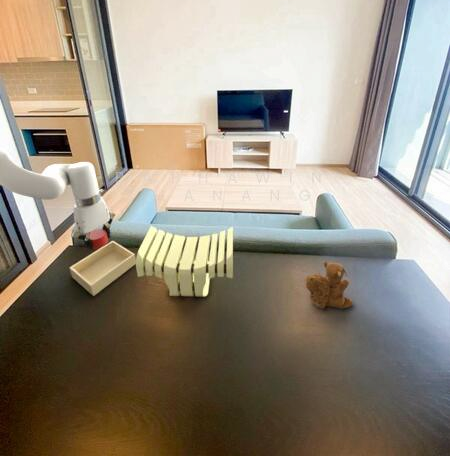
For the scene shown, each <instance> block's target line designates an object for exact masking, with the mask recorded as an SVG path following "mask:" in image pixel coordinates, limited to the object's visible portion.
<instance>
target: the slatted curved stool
mask: <svg viewBox="0 0 450 456" xmlns="http://www.w3.org/2000/svg"><path fill="white" fill-rule="evenodd" d="M218 235H219V239H218ZM226 235H227V236H226ZM198 238H199V240H198ZM185 240H186V241H185ZM225 245H226V247H225ZM217 248H218V249H217ZM225 249H226V261H225ZM217 251H218V252H217ZM233 253H234V227H233V226H231V227H229V228H227V233H226V229H224V230H222V231H220V232H219V233H218V232H216V233H212V235H211V234H207V235H200V236H199V237H198V236H187V237H186V236H185V235H179V234H174V236H173V233H171V232H166V233H165V231H164V230H162V229H157V227H155V226H152V225H150V227H149V229H148V231H147V233H146V235H145V237H144V239H143V241H142V243H141V244H140V246H139V249H138V251H137V253H136V256H135V258H136V264H135V269H136V273H137V274H136V275H137V277H138V278H140V277H145V275H146V277H149V276H150V277H153V276H155V277H156V278H159V279H162V278H163V279H164V283H165V285H166V286H167V289H168V290H169V296H170V297H180V296H181V297H194V296H195V297H207V296H208V294H209V290H210V289H209V288H210V280H211V279H214V278H215V277H216V274H217V277H218V278H224V277H225V274H226V278H227V279H228V278H229V279H234V272H233V271H234V266H233V265H234V261H233V260H234V255H233ZM225 262H226V263H225Z"/></svg>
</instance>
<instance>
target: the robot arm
mask: <svg viewBox="0 0 450 456" xmlns="http://www.w3.org/2000/svg"><path fill="white" fill-rule="evenodd" d="M98 183H99V182H98V179H97V174H96V169H95V166H94V165H93V164H92V163H91V162H89V161H80V162H77V163H55V164H50V165H48V166H47V167H46V168H45V169H44V170H43V171H42V172H41V173H38V172H34V171H32V170H28V169H26V168H23V167H21V166H20V165H18V164H17V163H15V161H14V160H13V157H12V156H11V154H10V152H9V151H8V150H7V149H5V148H3V147H2V148H1V147H0V186H1V187H3V188H5V189H6V190H8V191H10V192H12V193H14V194H17V195H20V196H24V197H27V198H33V199H37V200H46V201H47V200H55V199H57V198H59V197H61V196H62V195H63V193H64V192H65V191H66V188H67V186H70V187H71V191H72V195H73V198H74V202H75V204H74V205H73V220H74V225H75V226H74V229H73V230H72V233H71V234H70V237H71V238H72V239H77V240H82V241H83V245H84V247H86V248H87V249H90V250H92V248H93V246H92V242H91V239H90V238H89V234H90V233H91V232H92V231H94V230H97V229H99V227H101V226H102V228H101V229H104V230H106V233H107V237H108V239H111V225H112V223H113V221H114V218H115V216H116V213H114V212H112V211H109V209H108V206H107V203H106V201H105V199H104V197H103V196H102V194H103V193H104V190H103V189H102V188H101V189H100V188H99V184H98ZM80 231H81V233H79V232H80Z"/></svg>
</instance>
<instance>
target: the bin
mask: <svg viewBox="0 0 450 456" xmlns="http://www.w3.org/2000/svg"><path fill="white" fill-rule="evenodd" d="M134 266H136V254H135V253H134V252H132V251H130V250H129V249H128V248H126V247H124V246H123V245H121V244H119V243H117V242H116V241H115V240H111V241H110V242H108V243H107V244H106V245H105V246H104V247H102V248H99V249H96V250H95V251H94V252H92V253H91V254H89V255H87V256H85V257H84V258H82V259H81V260H79V261H78V262H76V263H74V264H73V265H71V266H69V271H70V274H71V278H72V279H73V280H75V281H76V282H77V283H78V284H79V285H80V286H81V287H83V288H84V289H85V290H86V291H87V292H88V293H89V294H90V295H92V297H95V296H96V295H97V294H99V293H100V292H101V291H102V290H104V289H105V288H106V287H108V286H109V285H110V284H112V283H113V282H114V281H115V280H117V279H118V278H119V277H121V276H122V275H123V274H124V273H126V272H127V271H129V269H132V267H134Z"/></svg>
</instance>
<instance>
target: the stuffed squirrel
mask: <svg viewBox="0 0 450 456" xmlns="http://www.w3.org/2000/svg"><path fill="white" fill-rule="evenodd" d="M322 263H323V266H324V268H325V276H323V275H322V274H320V273H315V274H314V275H313V274H311V275H306V278H305V279H304V281H305V287H306V289H307V290H308V291H309V293H310V294H309V296H310V299H311V301H312V302H313V304H314V305H315V306H316V307H317V308H318V309H325V307H332V308H335V309H341V310H342V309H346V308H349V307H351V306H352V305H353V300H352V299H351V298H350V297H347V296H344V292H345V290H346V289H348V286H349V285H350V282H349V279H347V278H343V277H344V275H345V276H346V277H349V275H348V273H347V271H346V270H345V268H344V266H343V265H342V264H341V263H339V262H328V261H327V260H324V261H323V262H322Z"/></svg>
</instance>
